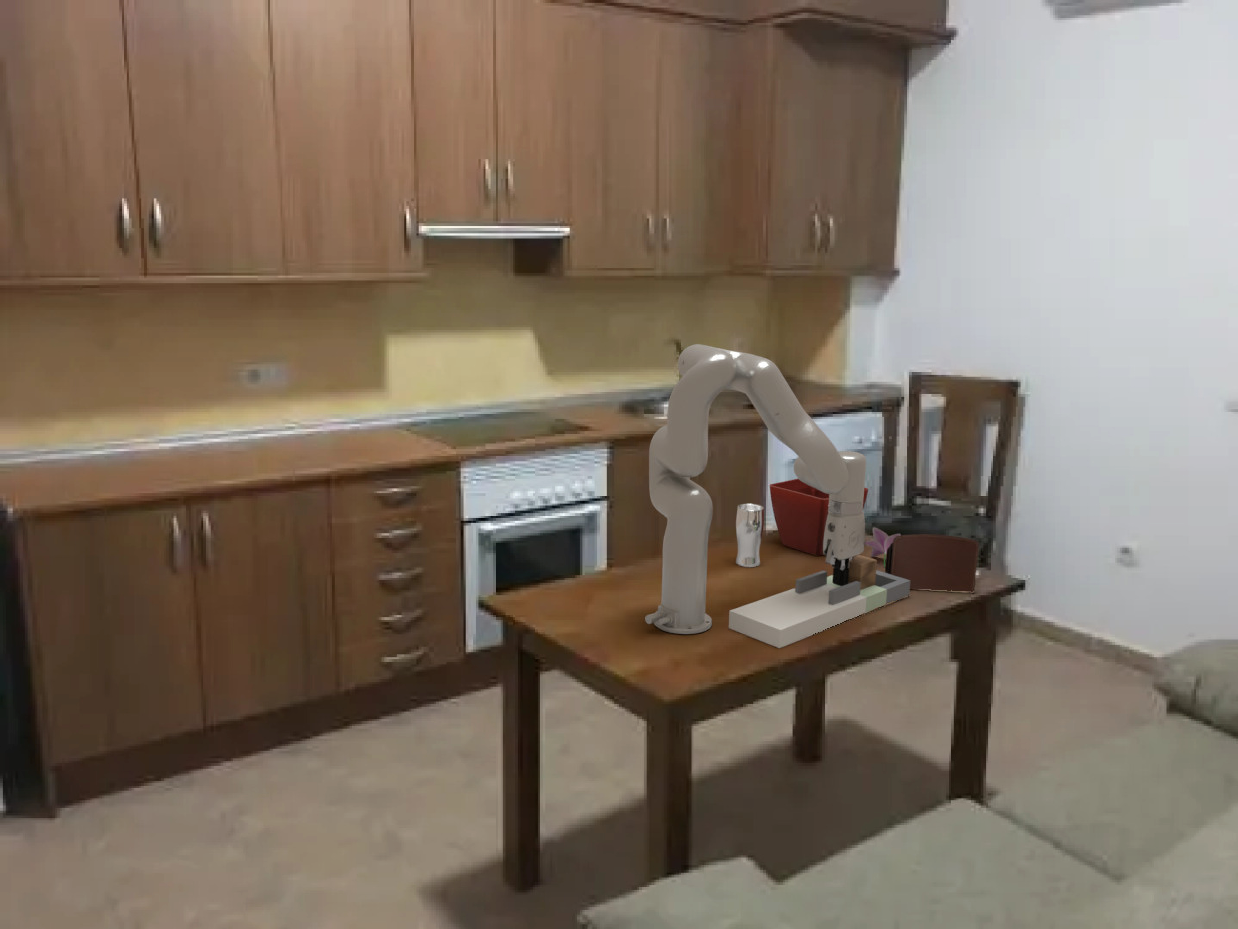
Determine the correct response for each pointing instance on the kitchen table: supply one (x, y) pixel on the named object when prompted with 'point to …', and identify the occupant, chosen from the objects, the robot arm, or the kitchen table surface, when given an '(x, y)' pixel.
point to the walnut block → (863, 571)
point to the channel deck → (813, 607)
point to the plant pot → (801, 514)
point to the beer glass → (749, 534)
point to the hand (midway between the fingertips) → (840, 584)
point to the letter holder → (934, 561)
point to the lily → (880, 542)
